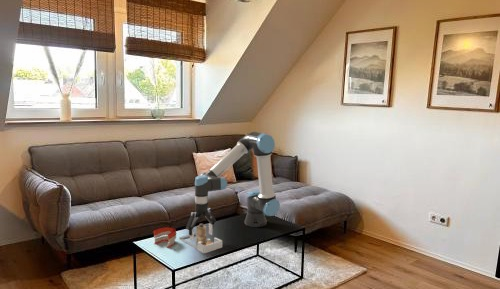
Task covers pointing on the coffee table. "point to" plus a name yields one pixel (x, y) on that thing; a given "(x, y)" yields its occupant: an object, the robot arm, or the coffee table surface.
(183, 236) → the rails
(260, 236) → the coffee table surface
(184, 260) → the coffee table surface
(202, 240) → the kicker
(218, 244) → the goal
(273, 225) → the coffee table surface
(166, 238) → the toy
